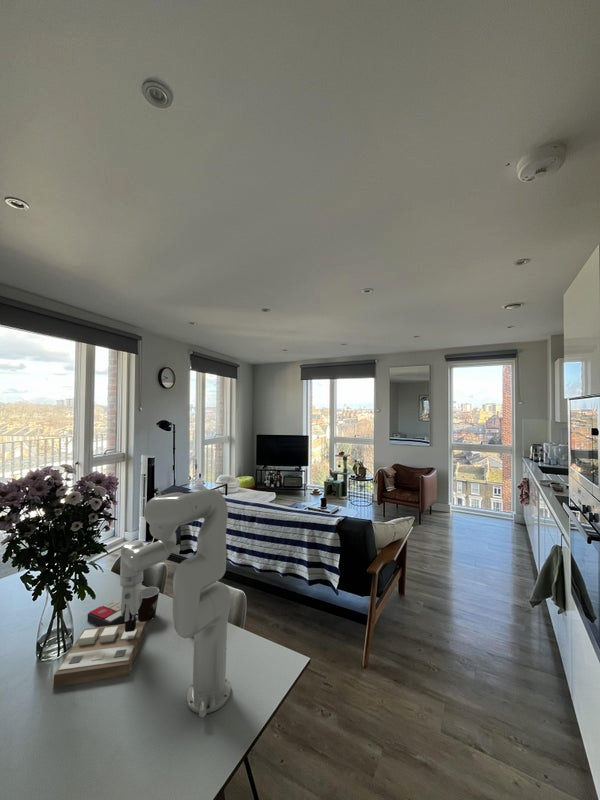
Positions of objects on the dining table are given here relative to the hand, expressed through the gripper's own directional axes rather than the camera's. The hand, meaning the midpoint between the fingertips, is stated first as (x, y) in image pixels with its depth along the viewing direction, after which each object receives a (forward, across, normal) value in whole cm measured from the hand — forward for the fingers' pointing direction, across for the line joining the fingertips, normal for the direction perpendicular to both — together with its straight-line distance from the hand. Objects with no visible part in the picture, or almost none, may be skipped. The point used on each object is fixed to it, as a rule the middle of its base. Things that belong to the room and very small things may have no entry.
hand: (130, 630), depth 116 cm
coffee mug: (+5, +16, -1) cm, 17 cm away
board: (+5, -3, +7) cm, 9 cm away
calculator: (+5, +19, +12) cm, 23 cm away
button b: (+3, +1, +7) cm, 8 cm away
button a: (+5, +1, +1) cm, 5 cm away
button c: (+3, +1, +14) cm, 14 cm away
